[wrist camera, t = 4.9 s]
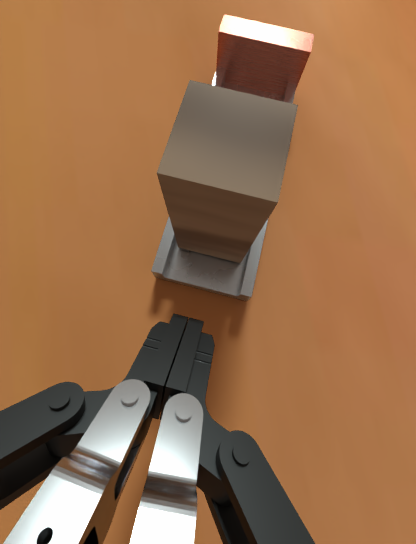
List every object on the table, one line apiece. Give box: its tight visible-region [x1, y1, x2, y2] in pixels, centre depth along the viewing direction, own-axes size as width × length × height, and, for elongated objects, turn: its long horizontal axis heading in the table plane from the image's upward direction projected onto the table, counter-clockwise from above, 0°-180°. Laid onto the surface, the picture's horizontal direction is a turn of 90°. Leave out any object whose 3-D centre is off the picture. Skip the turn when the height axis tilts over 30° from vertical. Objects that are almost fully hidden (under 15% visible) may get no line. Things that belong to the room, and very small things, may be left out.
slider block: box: [157, 80, 298, 263], centre depth 14 cm, size 5×5×9 cm
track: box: [151, 14, 314, 301], centre depth 19 cm, size 22×8×5 cm, turn 166°
